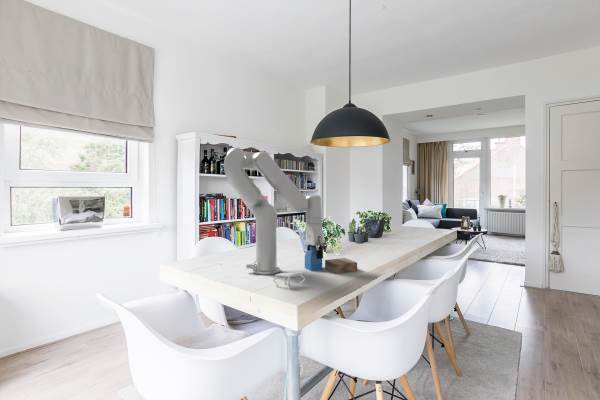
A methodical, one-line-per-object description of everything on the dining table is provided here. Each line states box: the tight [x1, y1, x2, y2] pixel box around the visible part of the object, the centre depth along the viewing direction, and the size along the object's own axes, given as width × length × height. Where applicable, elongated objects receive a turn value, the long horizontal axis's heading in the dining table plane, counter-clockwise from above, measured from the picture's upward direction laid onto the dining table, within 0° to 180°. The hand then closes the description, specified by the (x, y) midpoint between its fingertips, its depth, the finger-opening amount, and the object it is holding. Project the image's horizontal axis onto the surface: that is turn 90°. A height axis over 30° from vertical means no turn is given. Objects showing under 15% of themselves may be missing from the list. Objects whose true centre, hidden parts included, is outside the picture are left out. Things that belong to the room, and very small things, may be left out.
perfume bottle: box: [304, 245, 323, 272], centre depth 159 cm, size 6×6×12 cm
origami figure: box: [273, 272, 307, 290], centre depth 132 cm, size 12×8×5 cm
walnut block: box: [324, 257, 358, 274], centre depth 157 cm, size 11×11×4 cm
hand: (315, 256), depth 159 cm, fingers open, 9 cm apart
